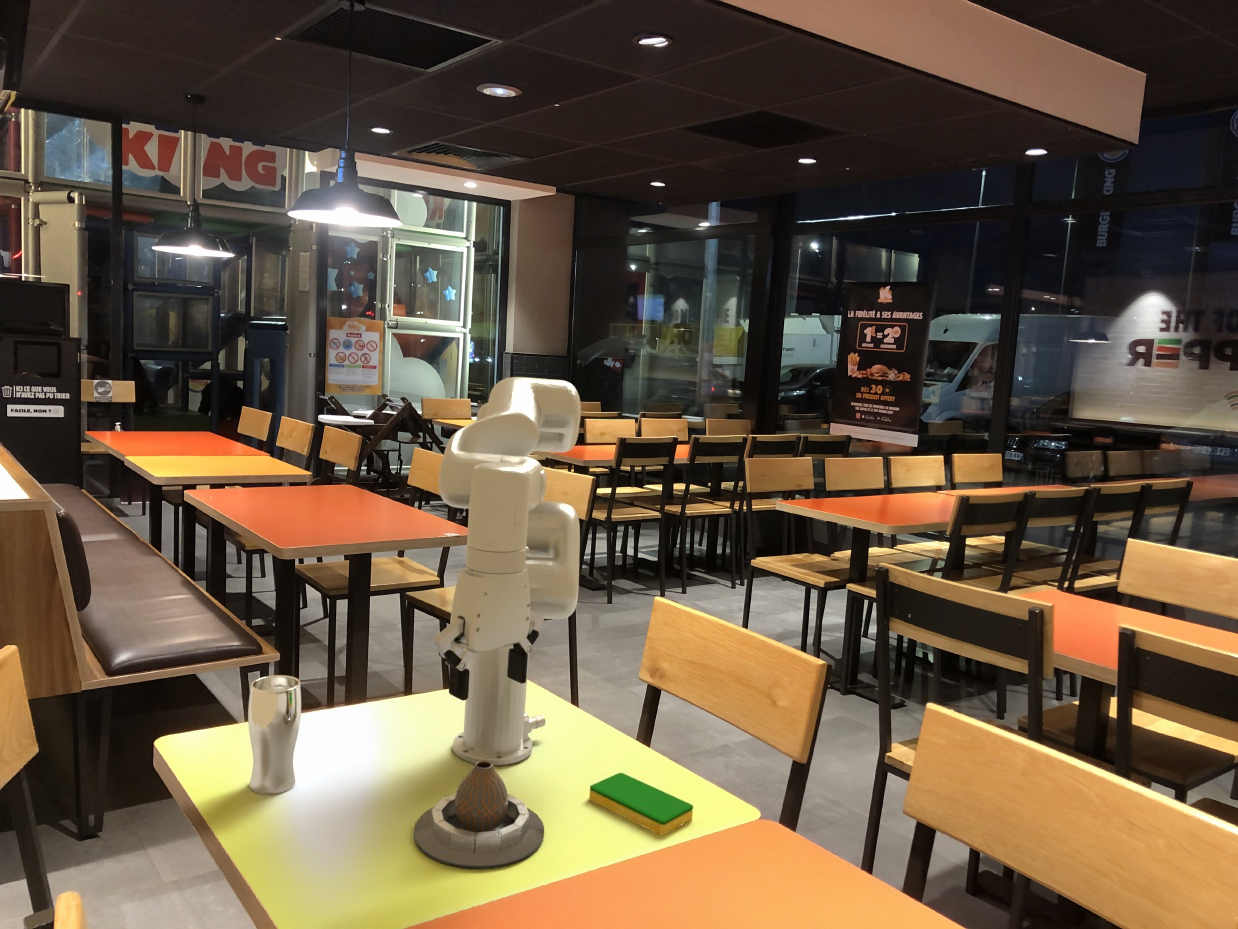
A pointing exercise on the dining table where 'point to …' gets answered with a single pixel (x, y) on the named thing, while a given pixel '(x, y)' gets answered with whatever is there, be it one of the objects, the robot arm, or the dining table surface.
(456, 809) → the vase
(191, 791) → the dining table surface
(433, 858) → the ring seat
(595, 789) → the dish sponge
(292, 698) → the beer glass
